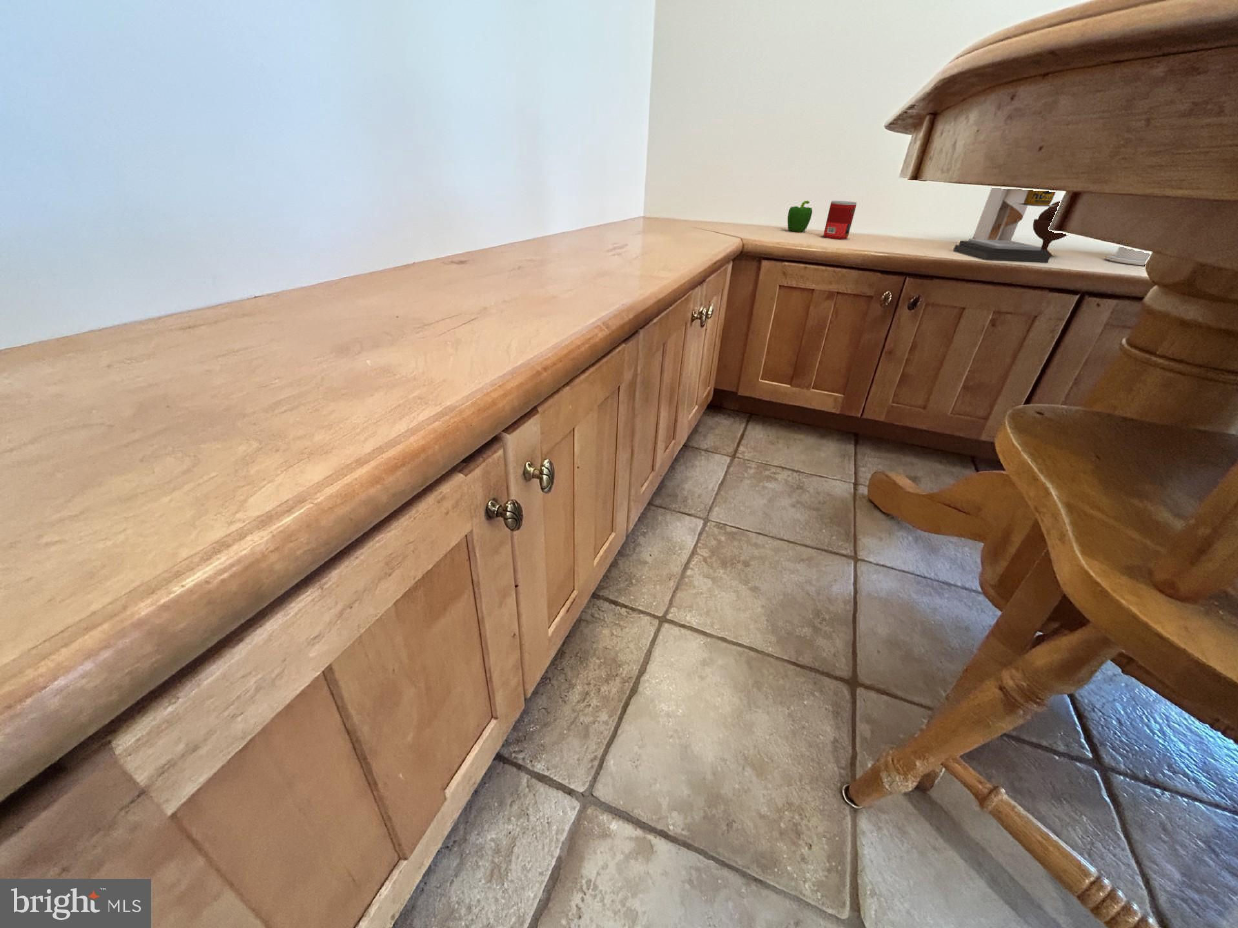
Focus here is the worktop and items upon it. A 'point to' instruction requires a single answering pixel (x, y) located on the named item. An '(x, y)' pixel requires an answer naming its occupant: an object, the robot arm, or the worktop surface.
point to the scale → (1001, 253)
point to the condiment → (1038, 198)
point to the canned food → (839, 219)
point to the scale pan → (1004, 244)
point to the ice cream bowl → (1046, 227)
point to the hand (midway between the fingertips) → (1047, 174)
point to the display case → (1001, 214)
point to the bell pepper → (799, 217)
